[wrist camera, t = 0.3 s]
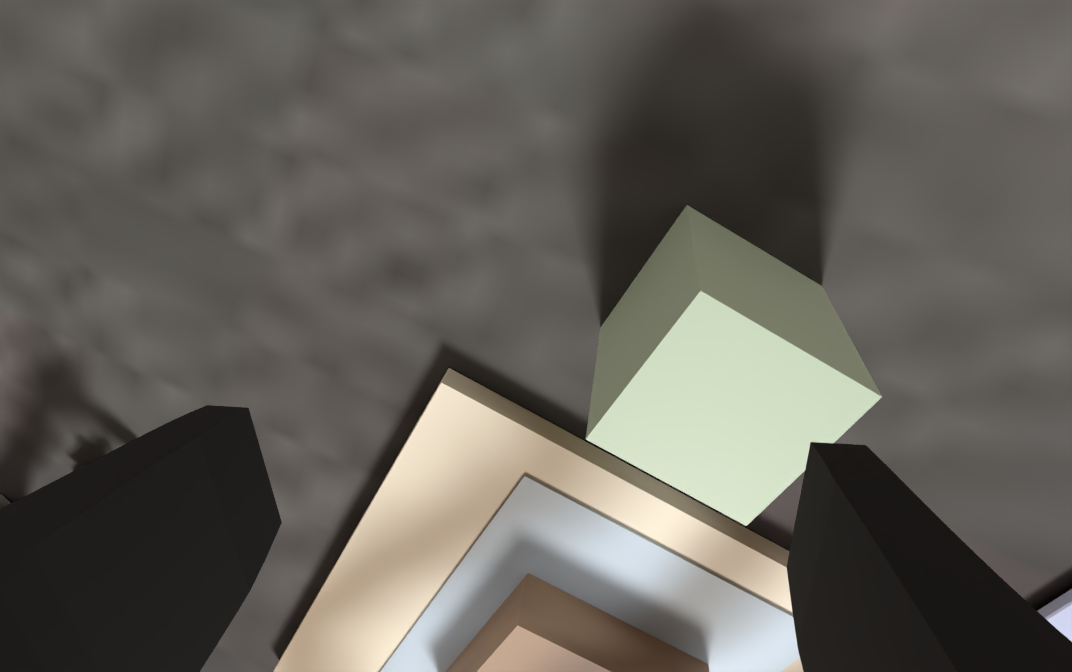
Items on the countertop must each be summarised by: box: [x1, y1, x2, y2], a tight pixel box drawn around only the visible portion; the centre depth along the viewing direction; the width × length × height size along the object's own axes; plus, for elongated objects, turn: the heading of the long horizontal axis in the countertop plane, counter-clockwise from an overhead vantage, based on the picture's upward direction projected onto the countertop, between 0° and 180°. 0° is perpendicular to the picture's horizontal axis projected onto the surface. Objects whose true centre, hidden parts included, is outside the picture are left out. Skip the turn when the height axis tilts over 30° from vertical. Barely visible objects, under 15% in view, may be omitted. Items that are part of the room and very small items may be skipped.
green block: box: [586, 205, 882, 526], centre depth 15 cm, size 4×4×5 cm
